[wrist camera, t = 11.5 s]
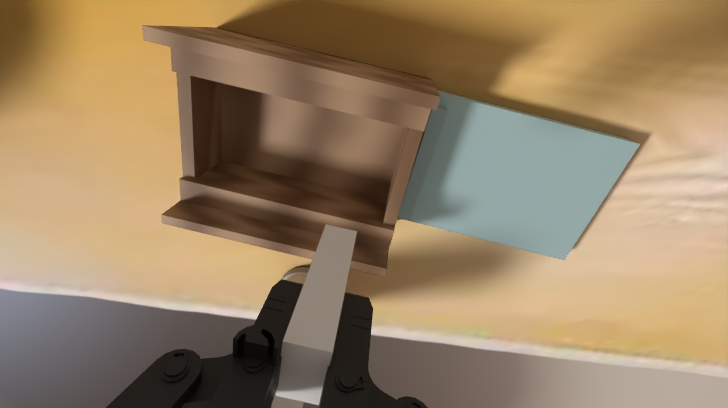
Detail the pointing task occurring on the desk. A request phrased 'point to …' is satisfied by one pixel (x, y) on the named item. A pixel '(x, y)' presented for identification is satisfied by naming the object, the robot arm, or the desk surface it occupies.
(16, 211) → the desk surface
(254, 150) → the box
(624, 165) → the cover plate
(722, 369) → the desk surface
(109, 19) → the desk surface
